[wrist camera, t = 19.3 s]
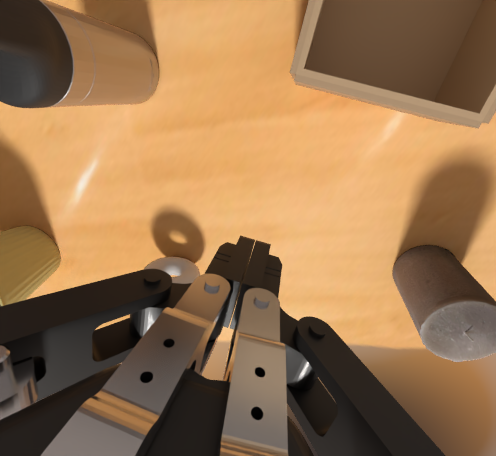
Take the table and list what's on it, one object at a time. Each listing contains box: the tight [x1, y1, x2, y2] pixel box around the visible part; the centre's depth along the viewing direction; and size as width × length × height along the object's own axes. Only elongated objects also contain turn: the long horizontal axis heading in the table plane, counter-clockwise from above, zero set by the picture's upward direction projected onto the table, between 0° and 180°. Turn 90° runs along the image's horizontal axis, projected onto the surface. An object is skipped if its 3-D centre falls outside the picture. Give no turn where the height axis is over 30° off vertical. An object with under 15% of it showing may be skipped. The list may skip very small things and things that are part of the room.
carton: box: [290, 0, 496, 128], centre depth 29 cm, size 19×19×12 cm
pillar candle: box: [393, 245, 496, 362], centre depth 40 cm, size 10×10×15 cm
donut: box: [144, 257, 200, 284], centre depth 50 cm, size 10×4×10 cm, turn 84°
